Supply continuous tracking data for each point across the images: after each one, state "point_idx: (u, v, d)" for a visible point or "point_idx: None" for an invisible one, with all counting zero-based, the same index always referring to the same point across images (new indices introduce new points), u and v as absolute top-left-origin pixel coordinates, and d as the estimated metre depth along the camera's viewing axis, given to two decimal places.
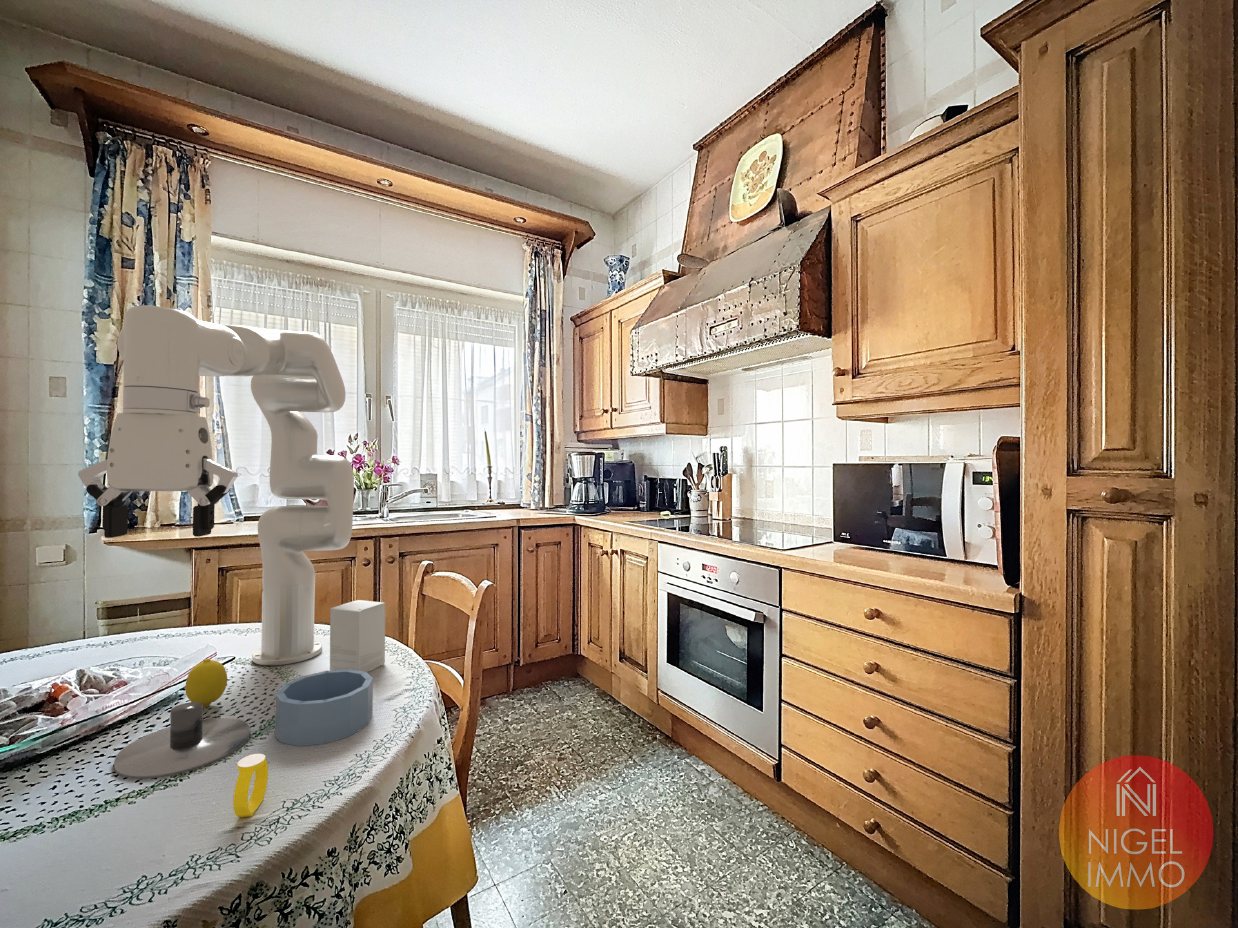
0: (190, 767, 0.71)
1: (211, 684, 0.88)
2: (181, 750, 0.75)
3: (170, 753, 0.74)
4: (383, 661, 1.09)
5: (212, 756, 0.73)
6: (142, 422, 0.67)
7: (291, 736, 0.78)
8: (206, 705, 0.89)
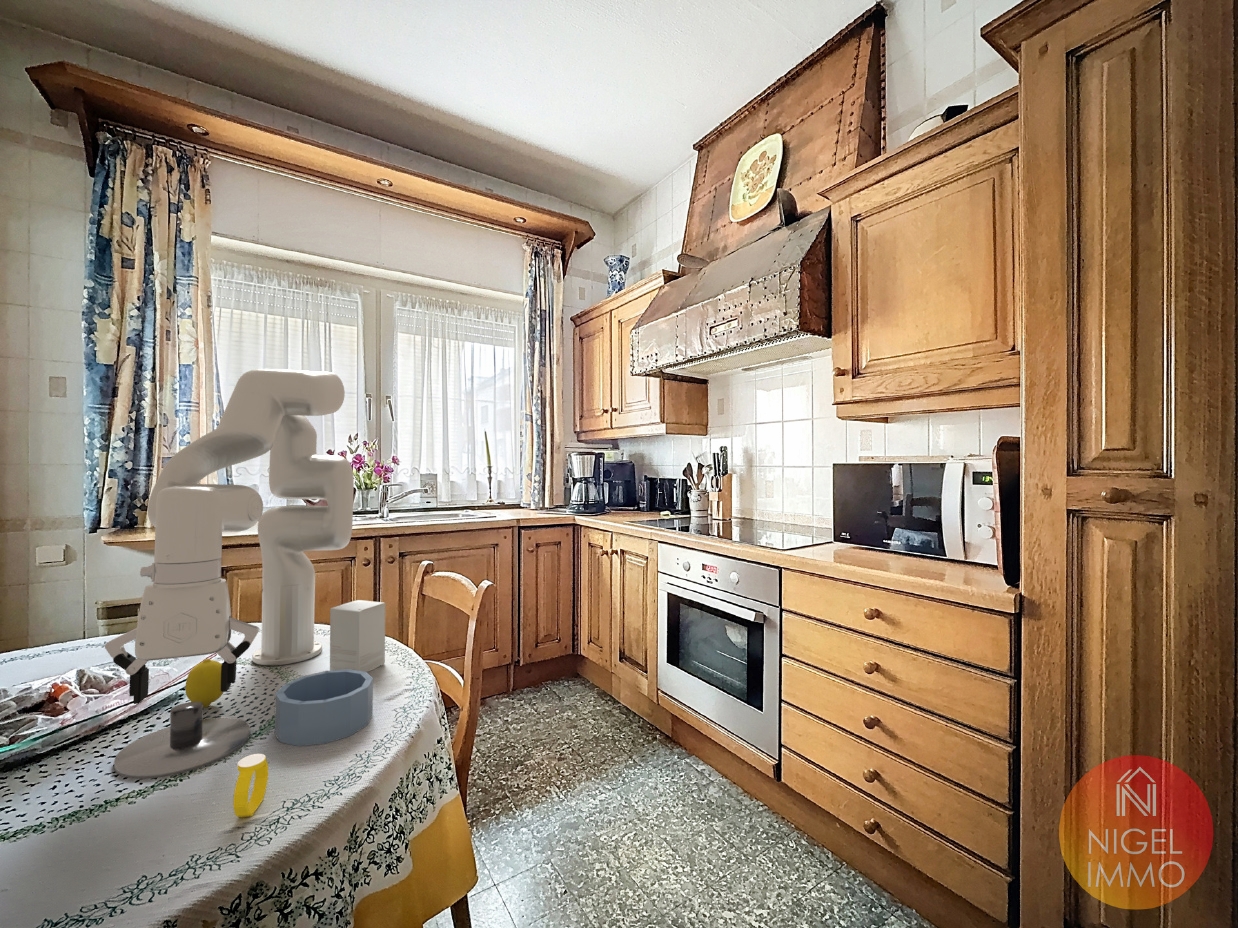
0: (190, 766, 0.71)
1: (211, 684, 0.88)
2: (181, 749, 0.75)
3: (170, 752, 0.74)
4: (383, 661, 1.09)
5: (212, 756, 0.73)
6: None
7: (291, 736, 0.78)
8: (206, 705, 0.89)
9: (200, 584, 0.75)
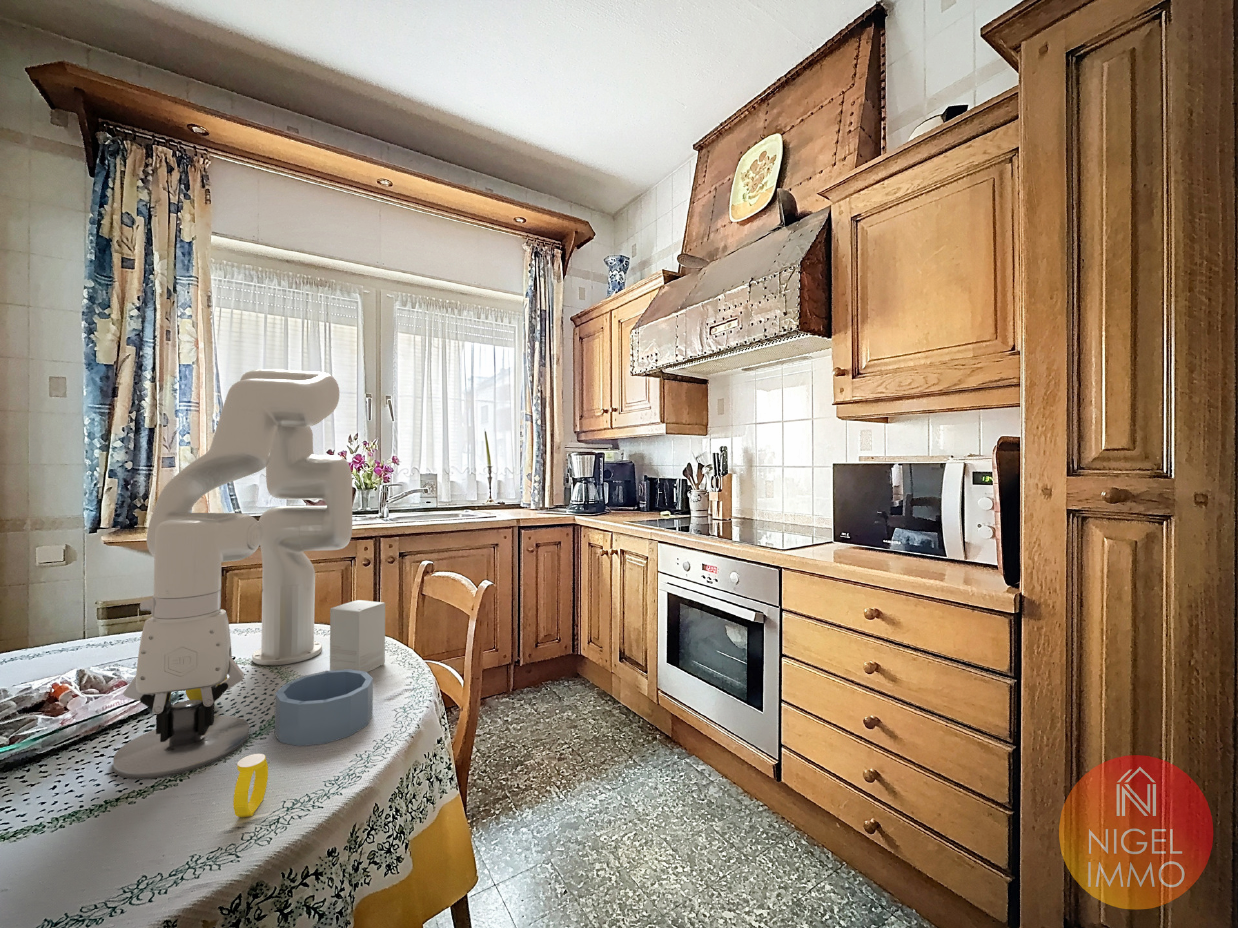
0: (189, 764, 0.71)
1: None
2: (180, 747, 0.74)
3: (169, 751, 0.74)
4: (383, 661, 1.09)
5: (211, 754, 0.73)
6: None
7: (291, 736, 0.78)
8: None
9: (200, 618, 0.75)
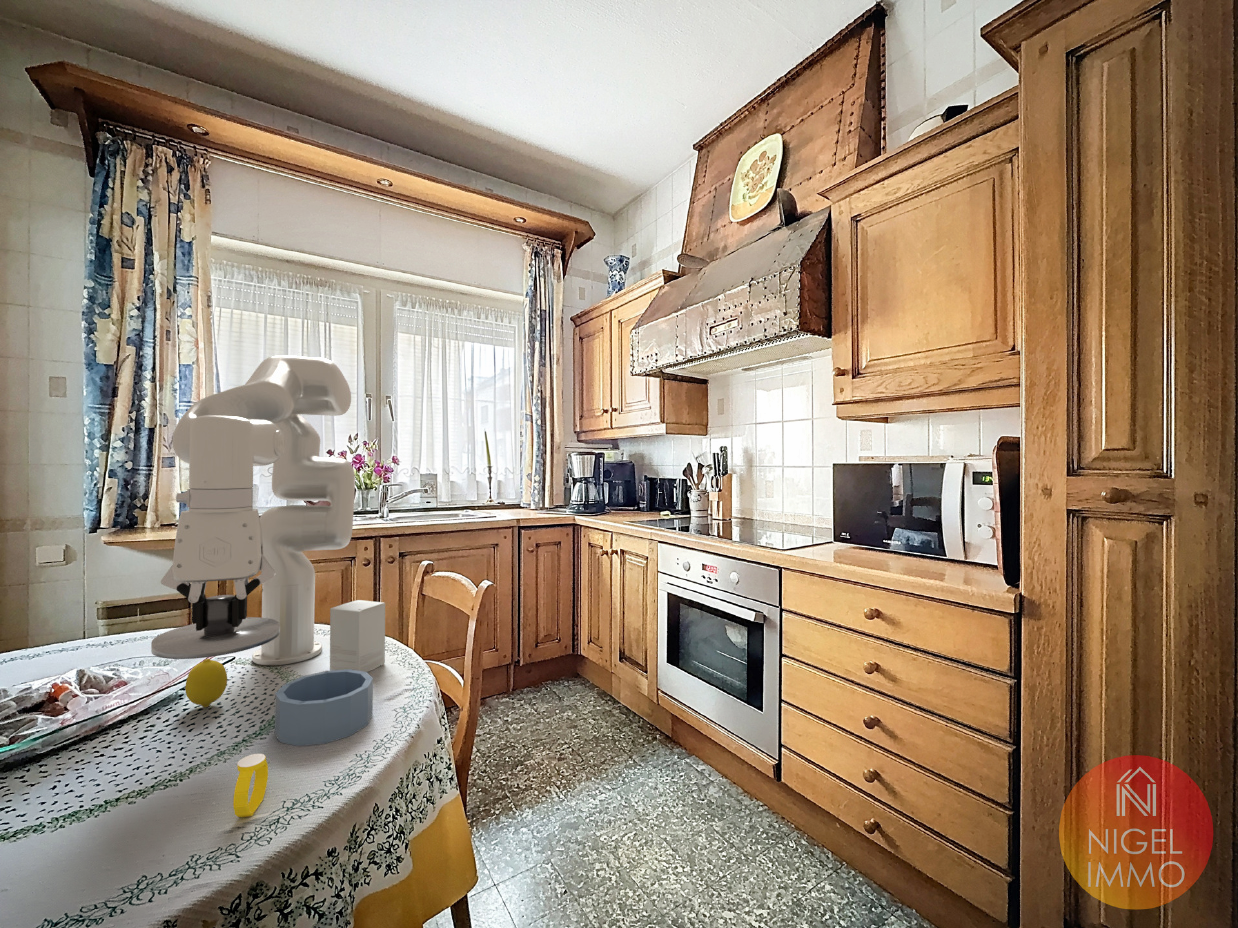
0: (224, 648, 0.73)
1: (211, 684, 0.88)
2: (215, 636, 0.76)
3: (204, 638, 0.76)
4: (383, 661, 1.09)
5: (244, 641, 0.75)
6: None
7: (291, 736, 0.78)
8: (206, 705, 0.89)
9: (233, 510, 0.77)
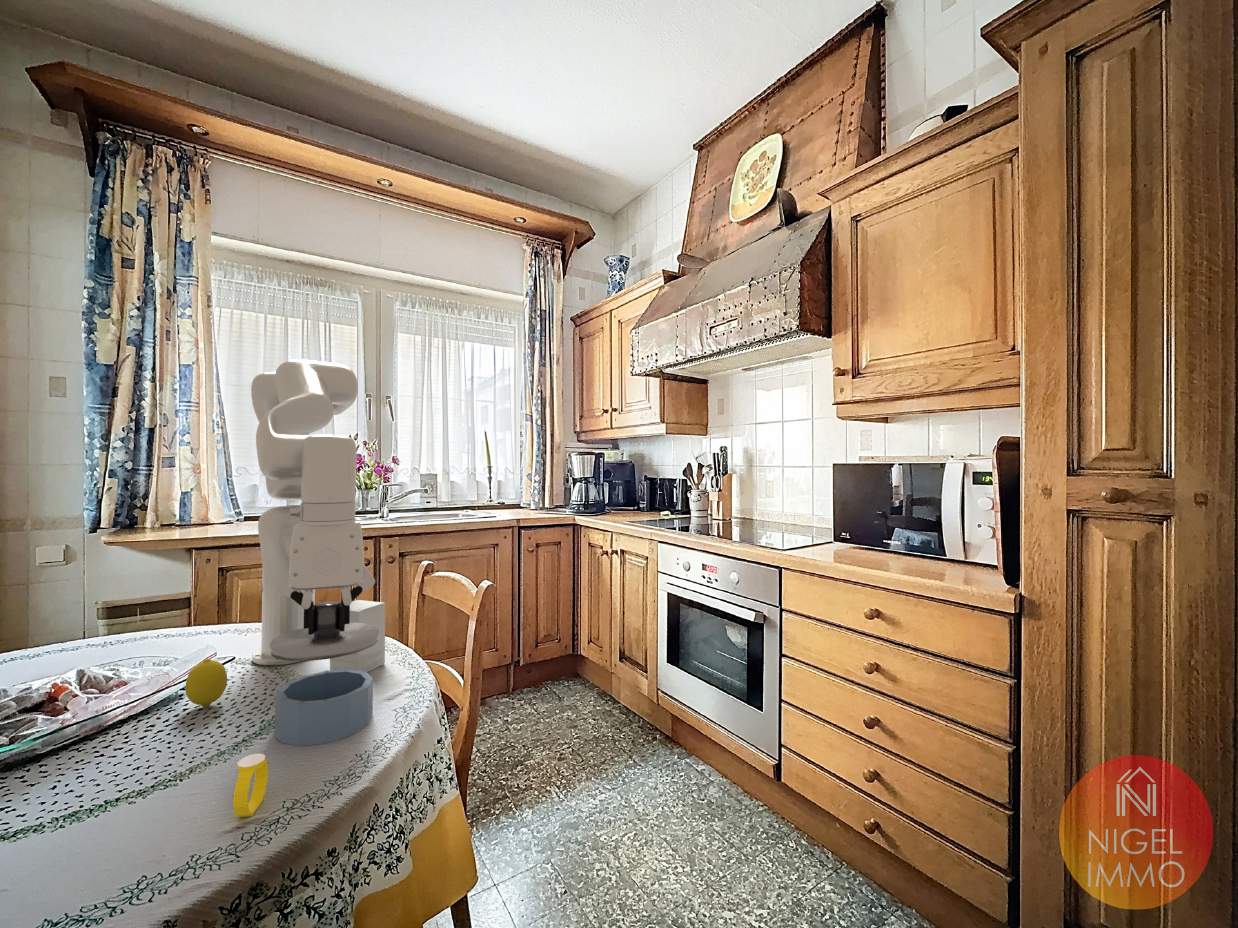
0: (340, 650, 0.79)
1: (211, 684, 0.88)
2: (326, 640, 0.82)
3: (317, 642, 0.81)
4: (383, 661, 1.09)
5: (356, 644, 0.81)
6: None
7: (291, 736, 0.78)
8: (206, 705, 0.89)
9: (343, 523, 0.83)
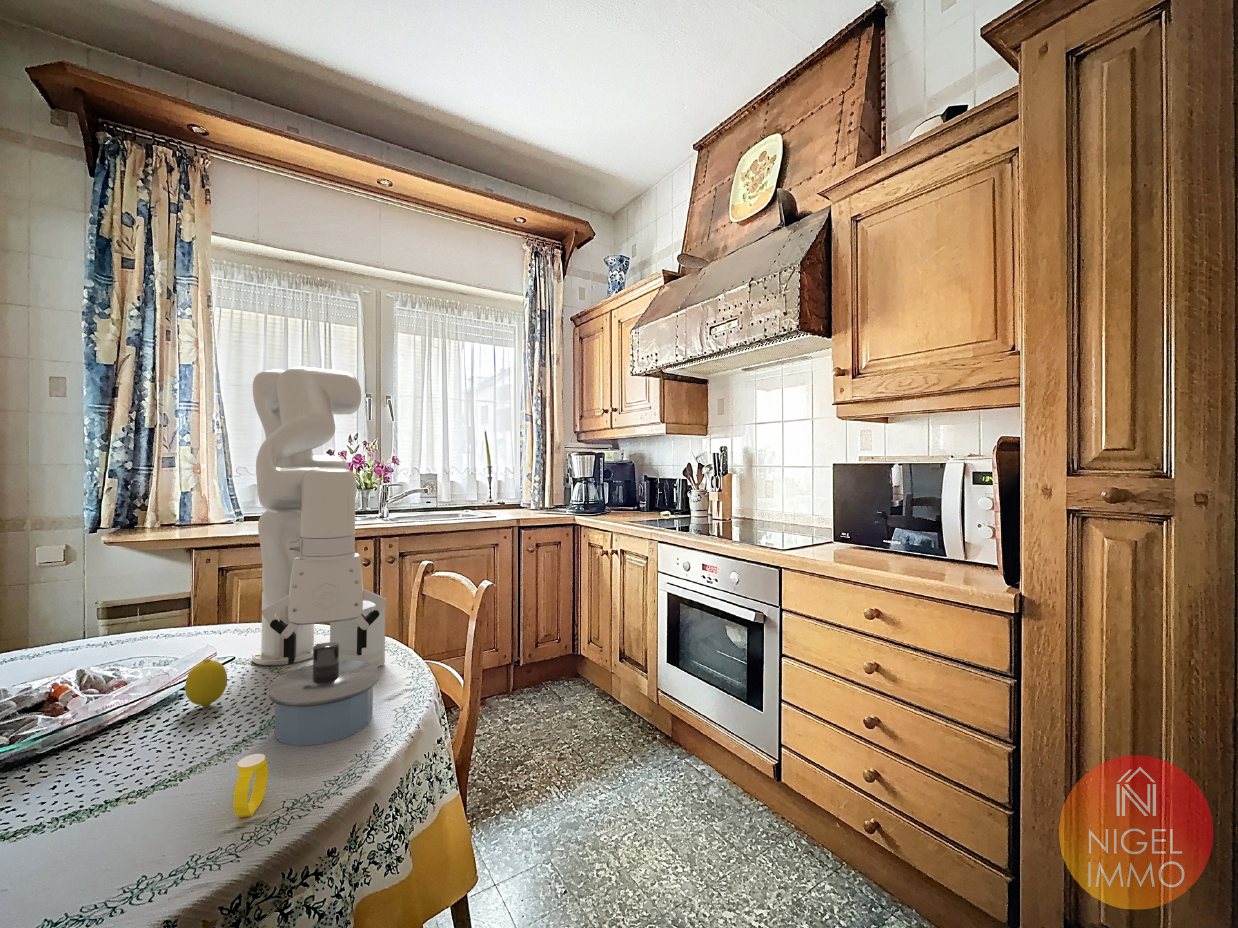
0: (339, 695, 0.79)
1: (211, 684, 0.88)
2: (325, 683, 0.82)
3: (316, 685, 0.81)
4: (383, 661, 1.09)
5: (355, 687, 0.81)
6: None
7: (291, 736, 0.78)
8: (206, 705, 0.89)
9: (342, 557, 0.83)
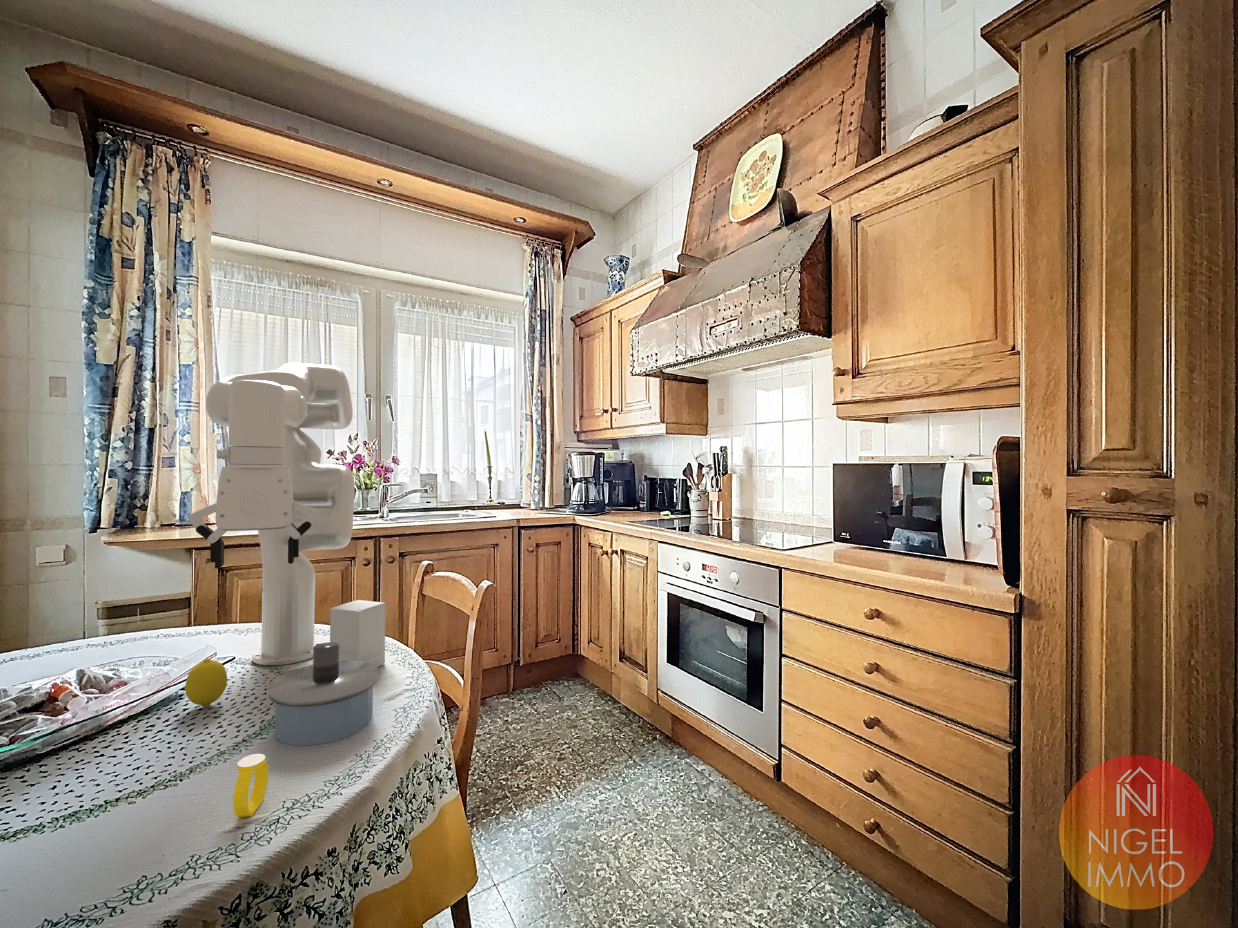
0: (339, 695, 0.79)
1: (211, 684, 0.88)
2: (325, 683, 0.82)
3: (316, 685, 0.81)
4: (383, 661, 1.09)
5: (355, 687, 0.81)
6: None
7: (291, 736, 0.78)
8: (206, 705, 0.89)
9: (270, 467, 0.84)
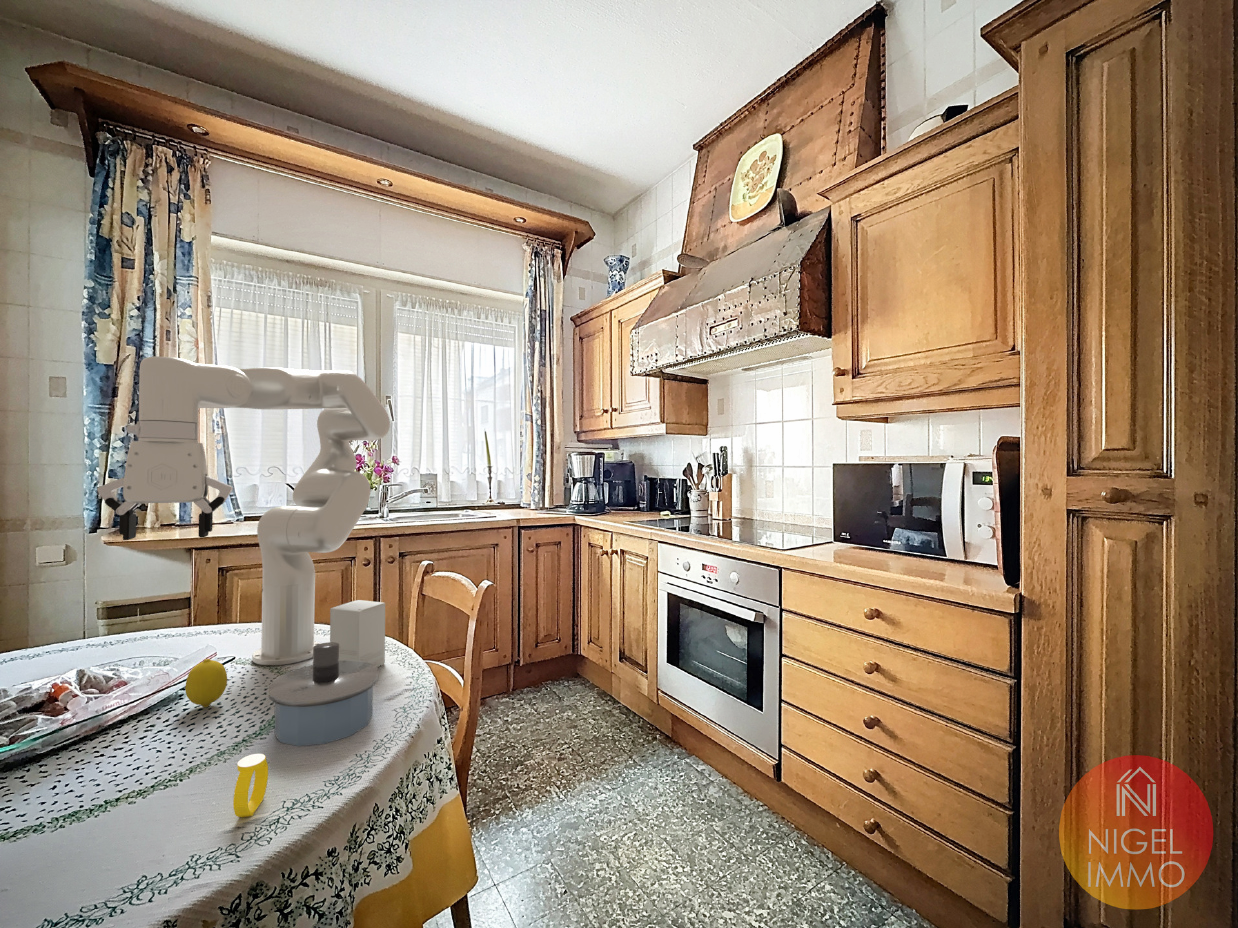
0: (339, 695, 0.79)
1: (211, 684, 0.88)
2: (325, 683, 0.82)
3: (316, 685, 0.81)
4: (383, 661, 1.09)
5: (355, 687, 0.81)
6: None
7: (291, 736, 0.78)
8: (206, 705, 0.89)
9: (179, 441, 0.86)
